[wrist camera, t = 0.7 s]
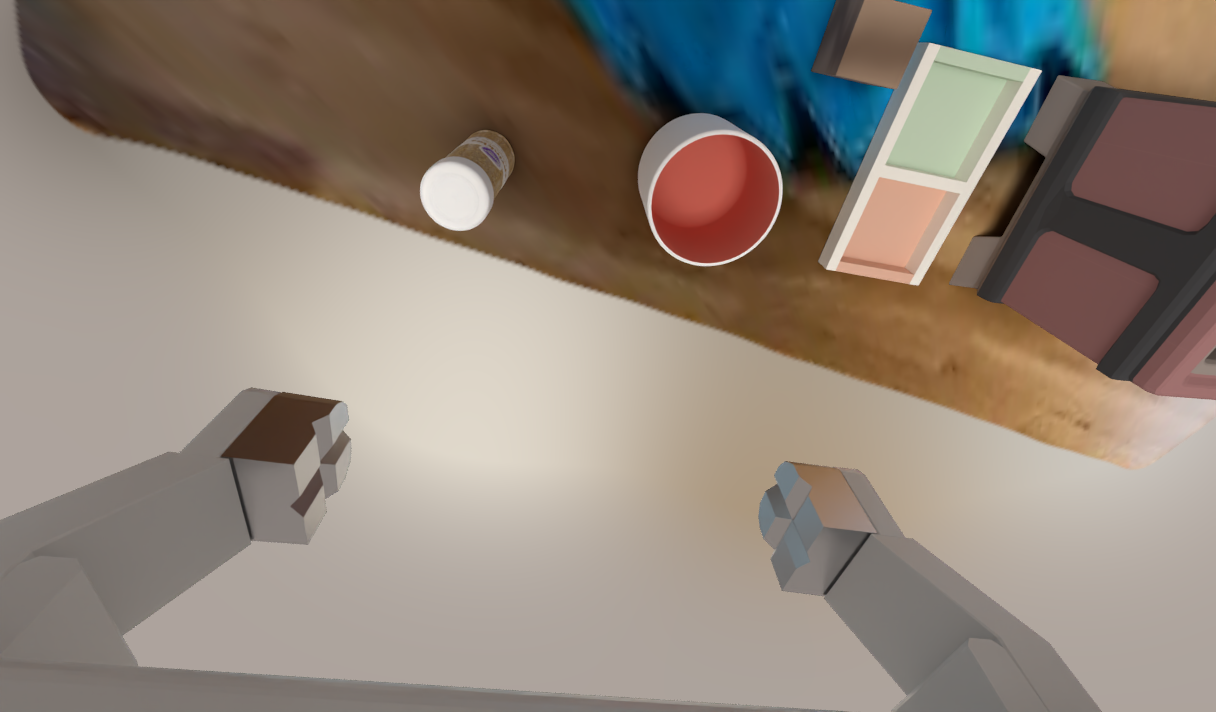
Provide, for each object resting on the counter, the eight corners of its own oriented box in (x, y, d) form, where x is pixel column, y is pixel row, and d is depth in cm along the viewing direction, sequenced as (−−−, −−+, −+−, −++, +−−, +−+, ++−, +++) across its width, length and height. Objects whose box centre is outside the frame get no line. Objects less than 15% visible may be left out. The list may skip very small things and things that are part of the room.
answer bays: (915, 42, 40) (929, 42, 38) (1023, 69, 41) (1042, 70, 40) (817, 261, 50) (825, 269, 48) (907, 277, 51) (918, 285, 50)
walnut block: (836, -2, 38) (866, -7, 34) (895, 13, 39) (932, 10, 35) (810, 71, 41) (835, 75, 37) (866, 84, 42) (896, 89, 37)
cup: (748, 102, 42) (787, 119, 34) (745, 218, 47) (779, 257, 39) (631, 120, 42) (641, 141, 34) (641, 232, 48) (652, 274, 40)
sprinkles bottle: (524, 148, 43) (501, 188, 32) (500, 193, 45) (471, 245, 34) (476, 117, 42) (434, 147, 31) (454, 164, 44) (407, 209, 33)
